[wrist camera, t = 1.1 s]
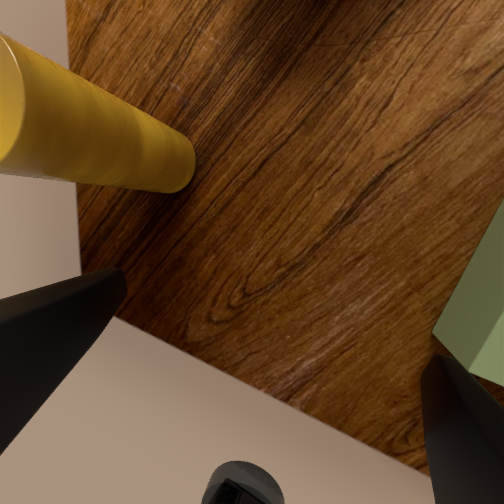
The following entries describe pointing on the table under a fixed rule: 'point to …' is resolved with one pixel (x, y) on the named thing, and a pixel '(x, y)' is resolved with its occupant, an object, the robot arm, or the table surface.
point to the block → (479, 308)
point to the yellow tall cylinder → (81, 130)
